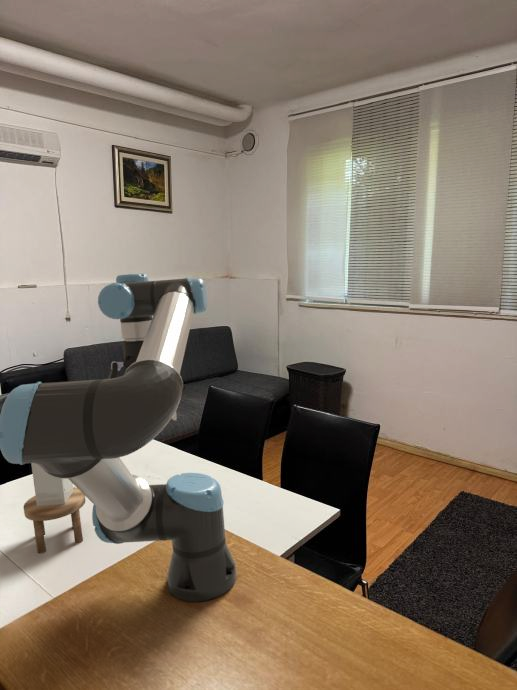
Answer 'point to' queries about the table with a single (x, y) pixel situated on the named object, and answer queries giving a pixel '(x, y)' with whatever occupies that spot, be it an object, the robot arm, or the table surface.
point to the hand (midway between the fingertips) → (147, 424)
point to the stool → (55, 516)
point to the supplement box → (50, 488)
